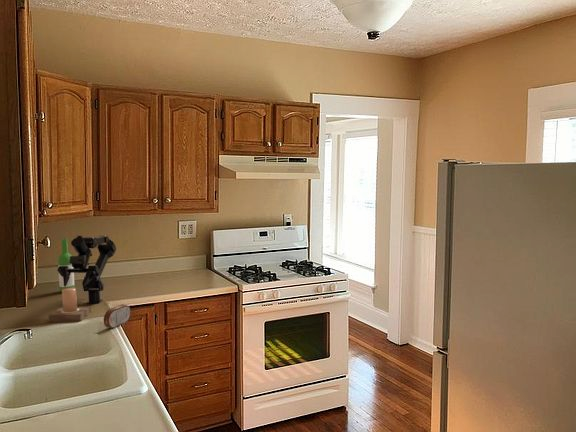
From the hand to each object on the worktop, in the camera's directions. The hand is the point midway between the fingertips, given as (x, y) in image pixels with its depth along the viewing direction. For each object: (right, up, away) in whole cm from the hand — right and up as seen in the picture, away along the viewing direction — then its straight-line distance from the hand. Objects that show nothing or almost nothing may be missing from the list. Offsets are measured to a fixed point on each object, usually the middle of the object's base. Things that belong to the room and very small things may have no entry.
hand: (74, 286), depth 237 cm
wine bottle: (-24, -10, +48) cm, 55 cm away
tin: (+27, -15, -18) cm, 36 cm away
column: (0, -11, -5) cm, 12 cm away
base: (0, -14, -4) cm, 15 cm away
